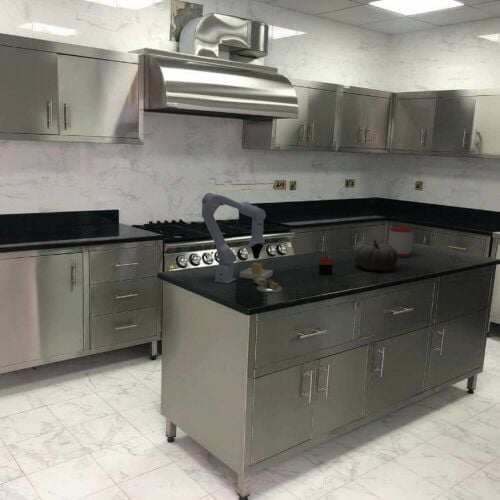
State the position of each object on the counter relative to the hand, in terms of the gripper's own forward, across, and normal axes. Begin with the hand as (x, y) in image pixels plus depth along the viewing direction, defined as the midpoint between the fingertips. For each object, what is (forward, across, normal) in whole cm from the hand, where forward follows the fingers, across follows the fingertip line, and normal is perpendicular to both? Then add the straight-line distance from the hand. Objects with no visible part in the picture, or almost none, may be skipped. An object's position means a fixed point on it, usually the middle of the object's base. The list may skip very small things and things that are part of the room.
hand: (256, 258), depth 274 cm
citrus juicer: (+10, +109, -50) cm, 121 cm away
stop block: (+10, +4, +1) cm, 11 cm away
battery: (+10, +30, -27) cm, 42 cm away
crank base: (+10, -14, -15) cm, 23 cm away
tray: (+10, +4, +2) cm, 11 cm away
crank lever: (+9, -13, -12) cm, 20 cm away
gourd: (+10, +61, -46) cm, 77 cm away
